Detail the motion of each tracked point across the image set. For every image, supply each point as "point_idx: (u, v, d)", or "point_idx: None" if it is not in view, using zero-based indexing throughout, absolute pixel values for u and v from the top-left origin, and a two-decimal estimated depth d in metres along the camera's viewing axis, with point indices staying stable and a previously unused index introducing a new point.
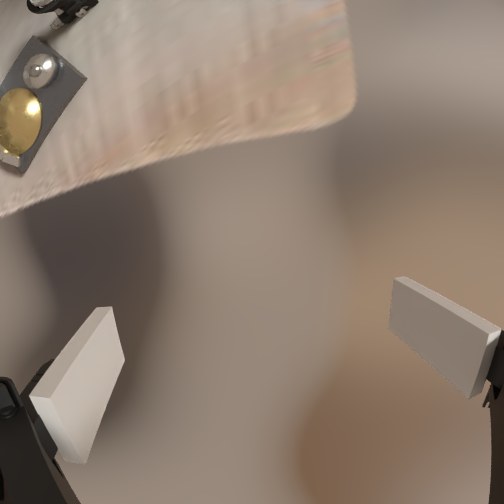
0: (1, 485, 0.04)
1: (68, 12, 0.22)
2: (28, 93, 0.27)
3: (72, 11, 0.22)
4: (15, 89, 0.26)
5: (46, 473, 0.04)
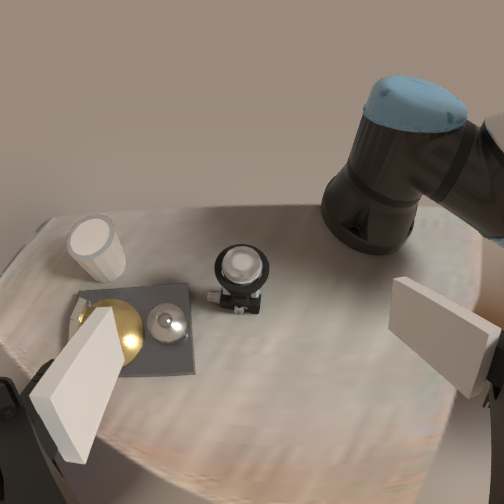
0: (1, 485, 0.04)
1: (232, 301, 0.34)
2: (140, 328, 0.34)
3: (236, 303, 0.35)
4: (134, 309, 0.35)
5: (46, 473, 0.04)
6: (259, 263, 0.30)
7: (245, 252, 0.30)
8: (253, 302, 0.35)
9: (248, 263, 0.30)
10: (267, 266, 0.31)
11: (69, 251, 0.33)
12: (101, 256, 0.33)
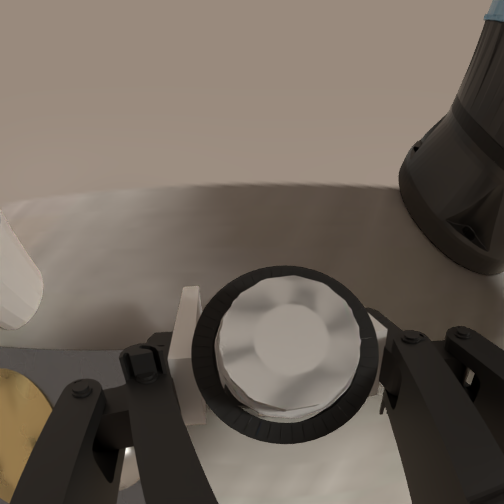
0: (113, 466, 0.06)
1: None
2: None
3: None
4: (44, 399, 0.13)
5: (185, 440, 0.05)
6: (355, 340, 0.07)
7: (301, 299, 0.08)
8: None
9: (316, 344, 0.07)
10: (371, 339, 0.08)
11: None
12: None
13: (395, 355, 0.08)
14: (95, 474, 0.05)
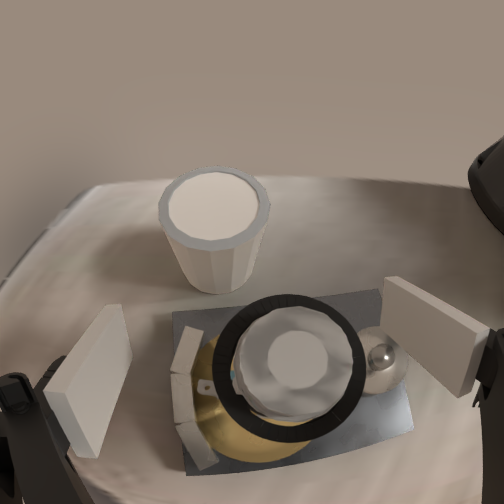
0: (11, 482, 0.04)
1: (255, 412, 0.14)
2: None
3: (263, 415, 0.14)
4: None
5: (60, 469, 0.04)
6: (349, 360, 0.09)
7: (305, 327, 0.10)
8: None
9: (317, 363, 0.09)
10: (361, 358, 0.10)
11: (171, 232, 0.17)
12: (250, 242, 0.18)
13: (495, 348, 0.07)
14: None
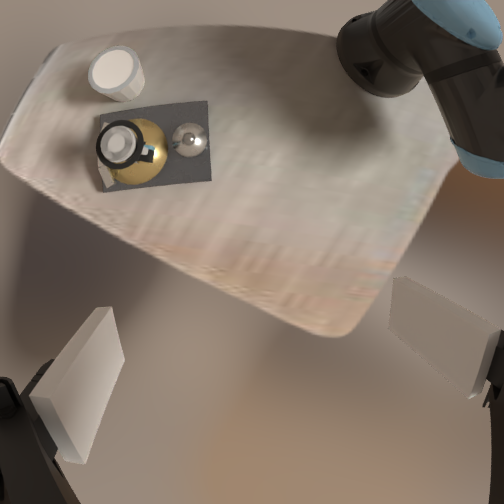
0: (1, 485, 0.04)
1: None
2: (164, 144, 0.38)
3: None
4: (157, 126, 0.37)
5: (46, 473, 0.04)
6: (131, 144, 0.28)
7: (120, 133, 0.28)
8: (143, 158, 0.35)
9: (121, 144, 0.28)
10: (141, 142, 0.29)
11: (93, 86, 0.30)
12: (127, 86, 0.31)
13: None
14: None
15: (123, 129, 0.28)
